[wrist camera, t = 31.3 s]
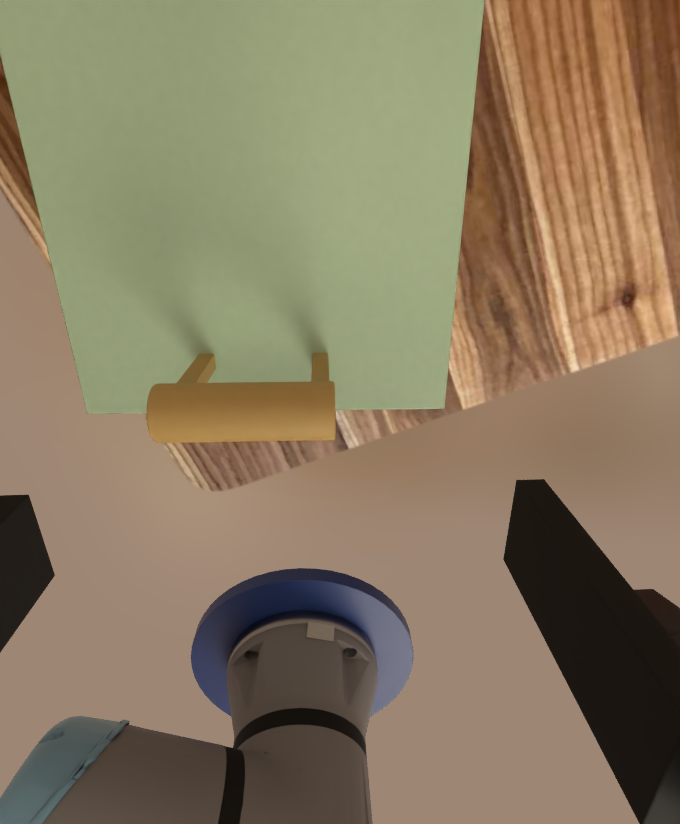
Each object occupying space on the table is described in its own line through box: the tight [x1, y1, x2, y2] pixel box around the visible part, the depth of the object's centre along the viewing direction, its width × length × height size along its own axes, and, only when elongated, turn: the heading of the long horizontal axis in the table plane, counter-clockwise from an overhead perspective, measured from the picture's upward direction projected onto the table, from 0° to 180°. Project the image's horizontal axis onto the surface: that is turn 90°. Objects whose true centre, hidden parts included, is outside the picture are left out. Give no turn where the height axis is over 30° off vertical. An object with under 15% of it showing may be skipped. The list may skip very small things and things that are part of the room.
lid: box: [0, 0, 484, 443], centre depth 15 cm, size 21×17×7 cm
